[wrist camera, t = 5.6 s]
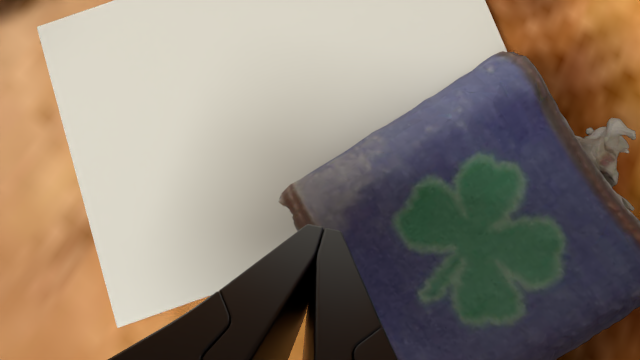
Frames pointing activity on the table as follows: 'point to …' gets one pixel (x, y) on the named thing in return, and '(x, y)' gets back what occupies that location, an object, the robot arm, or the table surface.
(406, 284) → the flask
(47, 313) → the table surface
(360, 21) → the serving board
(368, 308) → the robot arm
